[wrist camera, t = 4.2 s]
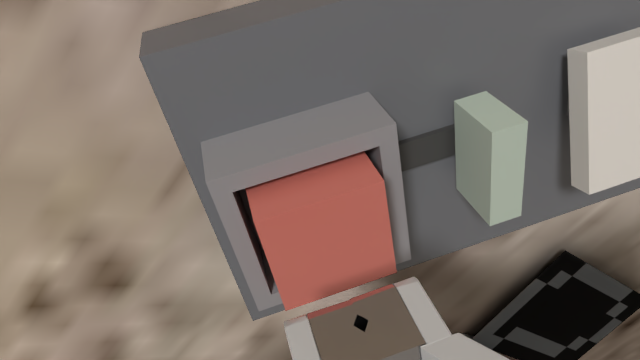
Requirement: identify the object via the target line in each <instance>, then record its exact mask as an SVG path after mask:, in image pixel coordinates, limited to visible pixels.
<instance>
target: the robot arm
mask: <svg viewBox="0 0 640 360" xmlns="http://www.w3.org/2000/svg"><path fill="white" fill-rule="evenodd" d="M307 316H308V318H307ZM308 320H309V321H308ZM309 323H310V324H309ZM310 326H311V327H310ZM284 328H285V333H286V337H287V340H288V344H289V348H290V352H291V356H292V360H510V359H508V358H506V357H504V356H502V355H500V354H499V353H497V352H495V351H493V350H491V349H489V348H487V347H485V346H483V345H482V344H480V343H478V342H476V341H474V340H472V339H470V338H468V337H467V336H465V335H463V334H461V333H455V334H452V333H451V332H450V330H449V329H448V327H447V325H446V324H445V322H444V320H443V319H442V317H441V316H440V314H439V312H438V311H437V309H436V308H435V306H434V304H433V303H432V301H431V299H430V298H429V296H428V295H427V293H426V291H425V290H424V288H423V286H422V285H421V283H420V282H419V280H418V279H417V278H416V277H411V278H408V279H405V280H402V281H400V282H397V283H394V284H393V285H392V284H390V285H387V286H384V287H382V288H379V289H376V290H373V291H371V292H368V293H365V294H362V295H360V296H357V297H354V298H352V299H350V300H349V301H345V302H342V303H339V304H336V305H333V306H330V307H327V308H324V309H321V310H318V311H314V312H311V313H308V314H307V315H306V314H305V315H303V316H300V317H297V318H294V319H291V320H288V321H285V322H284ZM311 329H312V330H311ZM312 332H313V333H312Z"/></svg>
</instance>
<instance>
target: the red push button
mask: <svg viewBox="0 0 640 360" xmlns="http://www.w3.org/2000/svg"><path fill="white" fill-rule="evenodd" d="M245 189H246V193H247V197H248V201H249V205H250V209H251V213H252V217H253V221H254V225H255V227H256V230H257V233H258V236H259V238H260V241H261V244H262V247H263V250H264V252H265V255H266V258H267V261H268V263H269V266H270V269H271V272H272V274H273V277H274V280H275V283H276V285H277V288H278V291H279V294H280V297H281V299H282V302H283V305H284V308H285V310H286V311H287V310H290V309H293V308H295V307H298V306H301V305H304V304H307V303H310V302H313V301H316V300H319V299H322V298H324V297H327V296H330V295H333V294H336V293H339V292H342V291H345V290H348V289H351V288H353V287H356V286H359V285H362V284H365V283H368V282H371V281H374V280H377V279H380V278H383V277H385V276H388V275H391V274H394V273H397V270H396V262H395V255H394V248H393V241H392V234H391V226H390V219H389V212H388V205H387V198H386V190H385V183H384V180H383V178H382V177H381V175H380V174H379V172H378V171H377V169H376V168H375V167H374V165H373V164H372V162H371V161H370V159H369V158H368V156H367V155H366V153H365V152H364V151H362V152H359V153H356V154H353V155H350V156H347V157H343V158H340V159H337V160H334V161H331V162H327V163H324V164H321V165H318V166H315V167H312V168H308V169H305V170H302V171H299V172H296V173H292V174H289V175H286V176H283V177H280V178H277V179H273V180H270V181H267V182H264V183H261V184H257V185H254V186H251V187H248V188H245Z"/></svg>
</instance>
